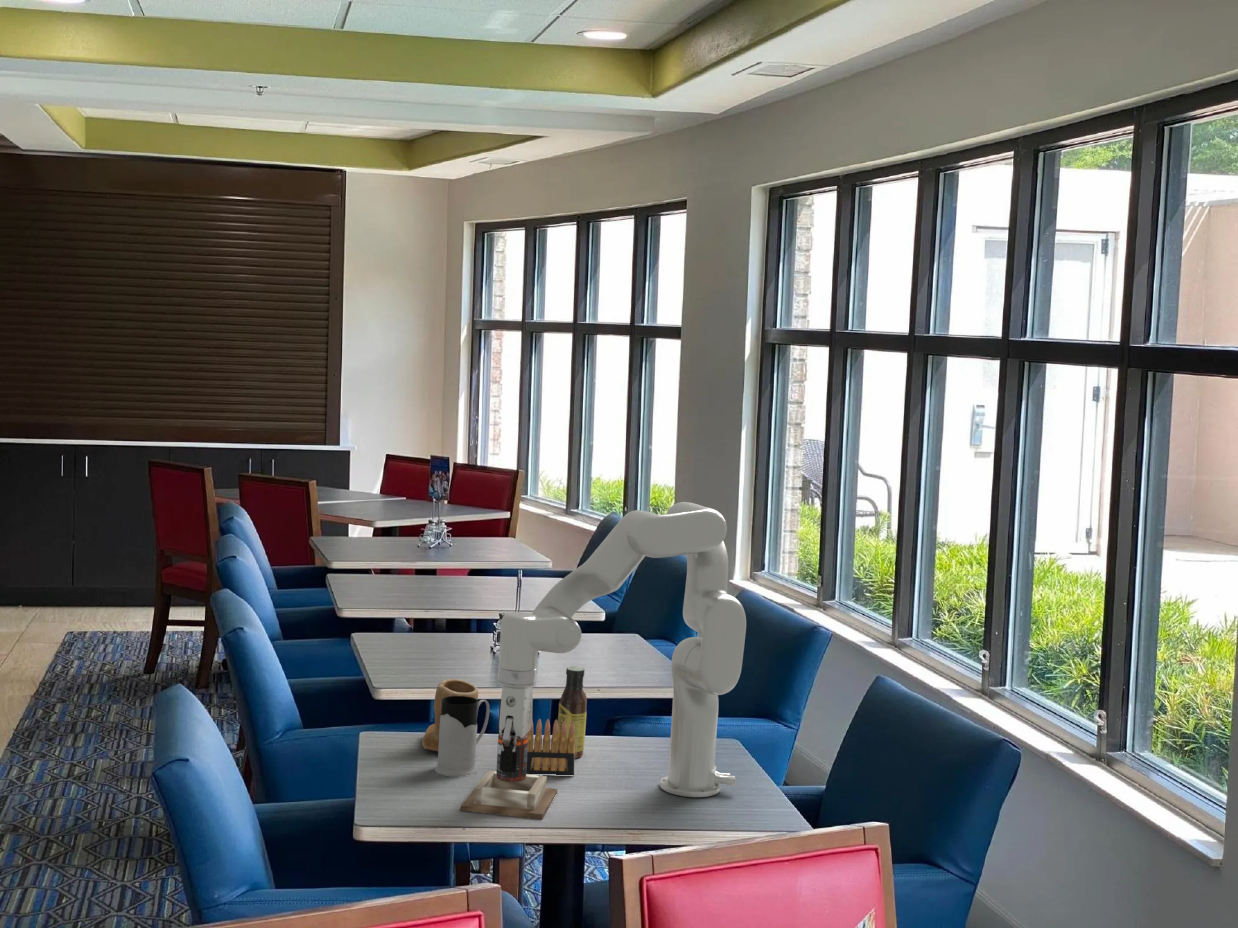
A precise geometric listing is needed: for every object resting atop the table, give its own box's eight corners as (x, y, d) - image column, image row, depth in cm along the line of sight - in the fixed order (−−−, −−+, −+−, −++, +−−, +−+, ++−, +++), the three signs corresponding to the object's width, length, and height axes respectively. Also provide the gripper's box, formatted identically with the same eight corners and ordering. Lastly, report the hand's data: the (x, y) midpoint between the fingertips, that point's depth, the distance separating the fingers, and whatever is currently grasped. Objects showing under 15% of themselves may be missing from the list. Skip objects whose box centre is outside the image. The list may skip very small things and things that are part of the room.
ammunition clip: (573, 774, 285) (577, 719, 284) (574, 777, 283) (577, 721, 282) (523, 772, 284) (526, 716, 283) (523, 775, 282) (526, 719, 281)
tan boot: (472, 757, 292) (475, 690, 291) (417, 754, 292) (420, 686, 291) (479, 738, 307) (483, 674, 306) (427, 735, 307) (431, 671, 306)
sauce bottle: (554, 750, 301) (560, 663, 299) (582, 751, 301) (587, 664, 300) (556, 759, 294) (561, 670, 293) (585, 760, 295) (590, 671, 293)
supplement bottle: (522, 773, 267) (526, 717, 266) (528, 782, 261) (532, 725, 261) (493, 773, 266) (496, 717, 265) (498, 783, 260) (502, 726, 259)
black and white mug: (426, 770, 281) (430, 699, 280) (470, 756, 293) (473, 688, 292) (458, 779, 276) (462, 707, 275) (501, 764, 288) (505, 696, 287)
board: (557, 793, 271) (558, 774, 271) (542, 819, 255) (543, 798, 255) (479, 785, 273) (481, 766, 273) (460, 810, 257) (461, 790, 257)
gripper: (527, 687, 253) (521, 781, 254) (544, 668, 270) (538, 756, 271) (488, 684, 254) (482, 777, 255) (507, 665, 271) (502, 752, 272)
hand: (511, 765), depth 263 cm, fingers closed on supplement bottle, 6 cm apart
